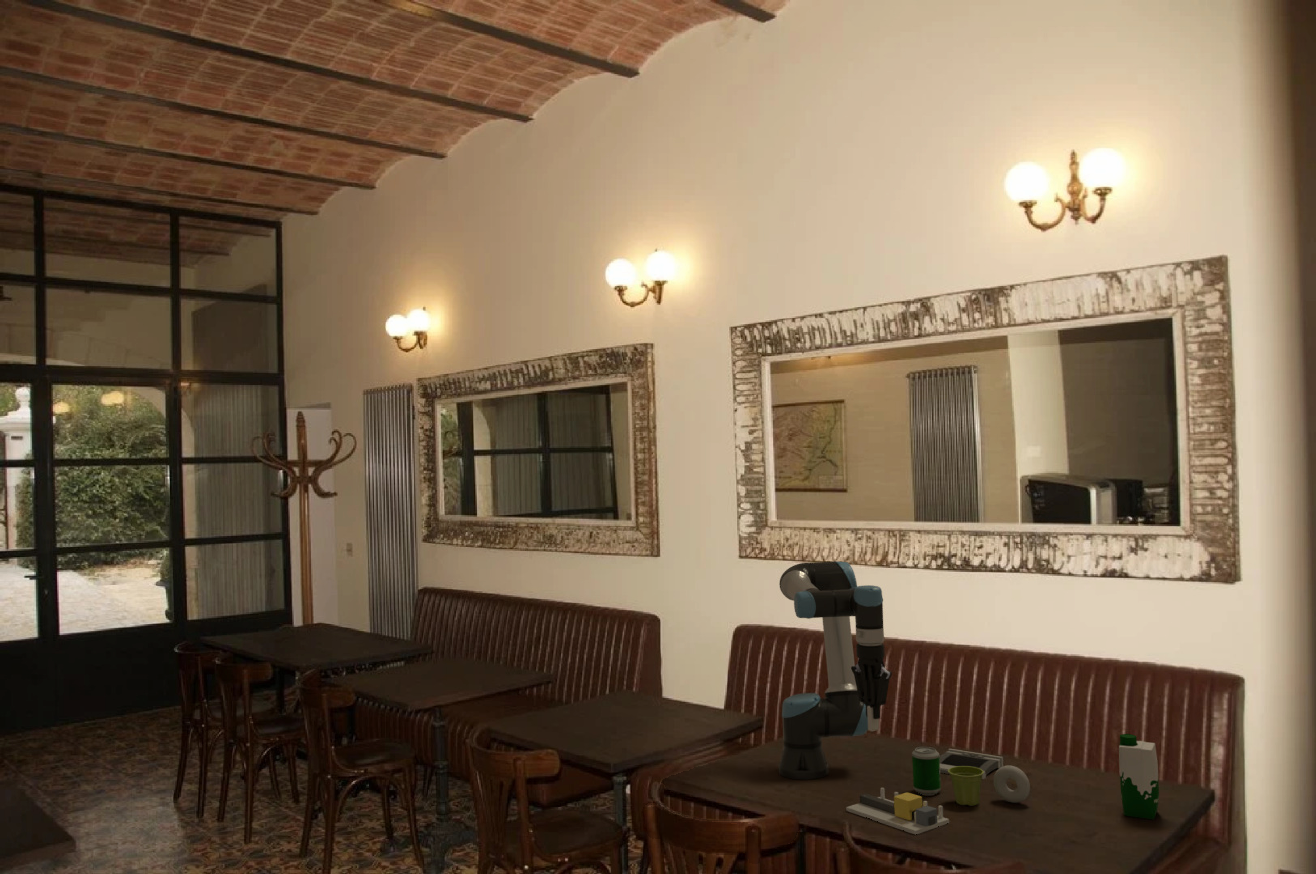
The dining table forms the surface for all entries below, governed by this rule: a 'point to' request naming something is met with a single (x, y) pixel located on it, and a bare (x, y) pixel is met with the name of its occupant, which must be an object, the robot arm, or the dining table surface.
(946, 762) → the alarm clock
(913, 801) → the yellow sliding cube
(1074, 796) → the dining table surface
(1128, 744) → the milk carton
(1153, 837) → the dining table surface
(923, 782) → the soda can
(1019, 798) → the donut
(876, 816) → the white pegged slab
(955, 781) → the plant pot
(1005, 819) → the dining table surface
